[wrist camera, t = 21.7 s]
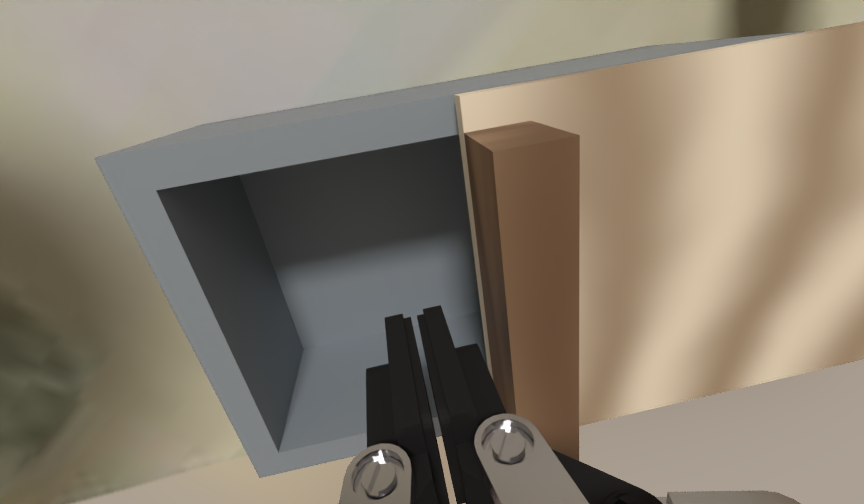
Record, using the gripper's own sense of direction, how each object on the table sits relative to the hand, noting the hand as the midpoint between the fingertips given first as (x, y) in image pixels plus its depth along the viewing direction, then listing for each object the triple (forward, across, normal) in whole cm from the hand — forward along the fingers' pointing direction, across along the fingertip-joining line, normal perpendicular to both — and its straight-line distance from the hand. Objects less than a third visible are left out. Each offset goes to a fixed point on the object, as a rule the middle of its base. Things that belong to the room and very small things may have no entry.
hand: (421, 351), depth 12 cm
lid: (+3, -14, 0) cm, 14 cm away
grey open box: (+11, -3, +1) cm, 12 cm away
